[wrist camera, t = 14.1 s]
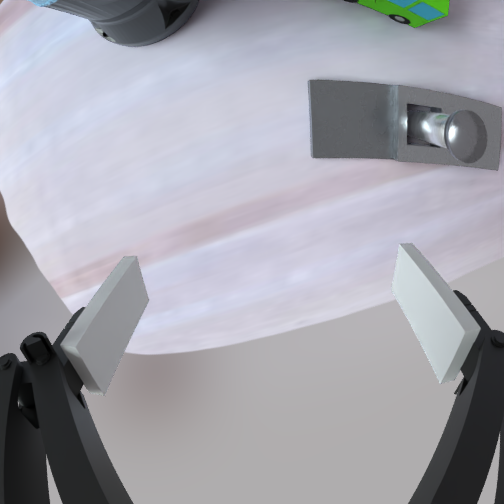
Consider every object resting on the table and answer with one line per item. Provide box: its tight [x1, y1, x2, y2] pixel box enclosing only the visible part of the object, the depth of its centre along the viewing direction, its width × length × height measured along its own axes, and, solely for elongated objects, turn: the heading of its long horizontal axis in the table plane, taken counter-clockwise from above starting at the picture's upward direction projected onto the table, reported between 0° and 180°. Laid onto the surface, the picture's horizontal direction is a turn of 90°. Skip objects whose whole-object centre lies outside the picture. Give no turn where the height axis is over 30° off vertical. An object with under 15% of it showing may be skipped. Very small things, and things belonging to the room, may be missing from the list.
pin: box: [407, 110, 487, 163], centre depth 28 cm, size 6×6×13 cm
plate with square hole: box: [308, 80, 502, 171], centre depth 33 cm, size 10×30×3 cm, turn 94°
